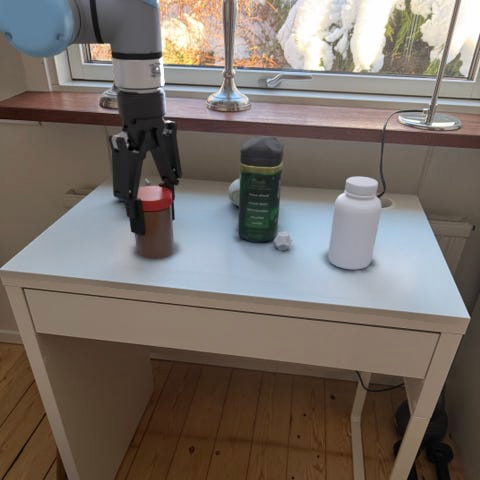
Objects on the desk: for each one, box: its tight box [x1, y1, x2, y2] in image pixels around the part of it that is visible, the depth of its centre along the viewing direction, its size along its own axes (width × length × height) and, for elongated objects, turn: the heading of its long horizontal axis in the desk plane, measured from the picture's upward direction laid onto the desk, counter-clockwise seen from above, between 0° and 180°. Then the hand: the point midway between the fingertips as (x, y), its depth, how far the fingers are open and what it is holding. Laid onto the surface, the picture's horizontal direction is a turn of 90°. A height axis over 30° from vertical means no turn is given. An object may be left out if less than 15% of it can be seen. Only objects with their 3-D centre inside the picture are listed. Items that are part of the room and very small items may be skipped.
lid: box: [137, 185, 173, 211], centre depth 83 cm, size 8×8×2 cm
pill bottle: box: [327, 175, 383, 271], centre depth 82 cm, size 8×8×15 cm
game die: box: [272, 231, 293, 251], centre depth 89 cm, size 4×4×3 cm
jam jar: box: [134, 206, 175, 259], centre depth 85 cm, size 7×7×11 cm
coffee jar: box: [237, 135, 285, 243], centre depth 90 cm, size 10×8×19 cm
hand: (153, 225), depth 86 cm, fingers closed on lid, 7 cm apart
